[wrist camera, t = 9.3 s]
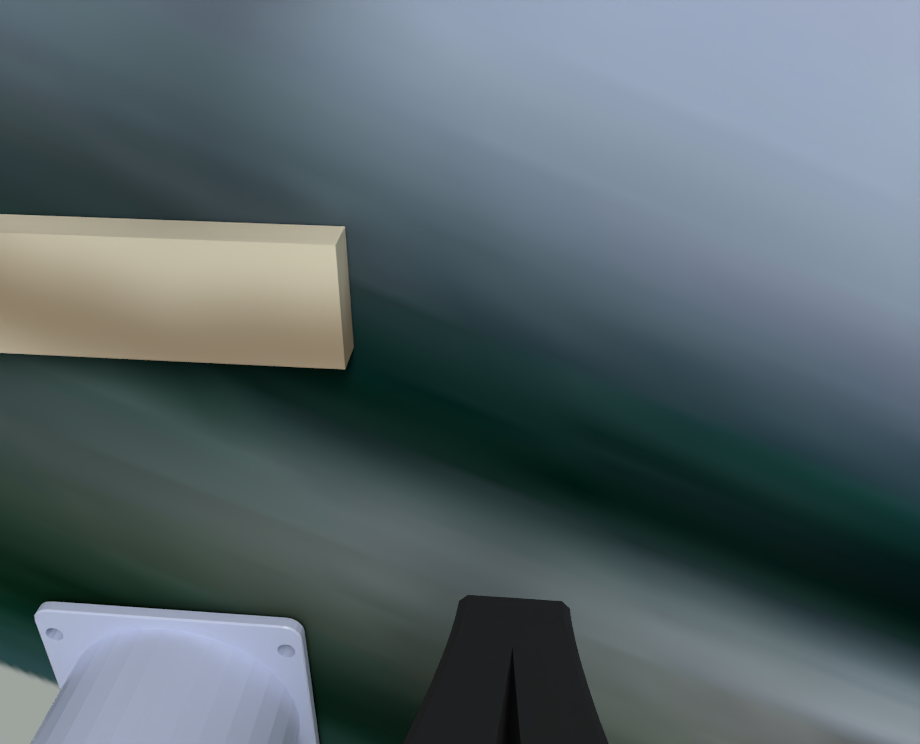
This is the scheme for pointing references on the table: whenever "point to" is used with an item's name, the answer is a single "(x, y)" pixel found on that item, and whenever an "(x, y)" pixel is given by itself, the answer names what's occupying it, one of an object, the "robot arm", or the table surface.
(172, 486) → the table surface
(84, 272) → the birch track
